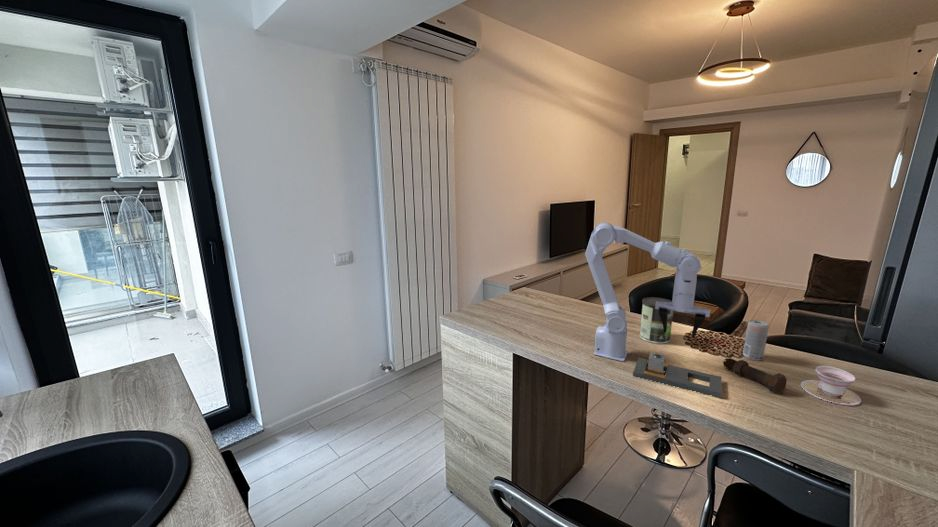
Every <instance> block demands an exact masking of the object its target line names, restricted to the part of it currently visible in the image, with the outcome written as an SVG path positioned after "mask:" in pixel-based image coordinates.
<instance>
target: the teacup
mask: <svg viewBox="0 0 938 527" xmlns="http://www.w3.org/2000/svg"><path fill="white" fill-rule="evenodd" d="M814 371H815V373H816V374H817V378H818V379H819V380H817V379H806V380H805V379H804V380H803V381H801V382H800V388H801V389H802V388H803V389H802V390H803V391H804V390H805V393H808V394H809V395H810V396H812V397H815V399H816V398H817V399H819V400H821V399H822V401H824V402H827V401H828V402H827V403H831V402H832V403H831V404H834V405H840V406H847V407H848V406H850V407H854V406H859V405H861V403H862V399H861V397H860V396H859V395H858V394H857V393H855V392H854V391H852V390H850V389H848V388H847V387H849V386H850V385H852V384H854V383H855V382H856V377H855V375H853V374H852V373H850V372H849V371H847V370H844V369H842V368H838V367H835V366H829V365H818V366H816V367H815V370H814ZM811 381H812V382H819V384H818V387H819V389H820V390H821V391H823V392H824V393H823V392H822V393H823V394H825V393H826V394H825V395H827V394H828V395H827V396H829V395H831V396H830V397H833V396H838V397H840V396H841V395H844V394H845V393H846V390H848V391H849V392H851V393H852V394H854V396H855V397H856V398H857V401H856V402H855V403H850V404H847V403H838V402H833V401H829V400H826V399H823V398H821V397H818V396H816V395H814V394H812V393H811V392H809V391H808V390H807V389H806V388H805V385H804V384H805V383H808V382H811Z"/></svg>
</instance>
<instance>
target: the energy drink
mask: <svg viewBox="0 0 938 527" xmlns="http://www.w3.org/2000/svg"><path fill="white" fill-rule="evenodd" d="M769 329H770V326H769V323H767V321H763V320H759V319H750V320H749V321H748V322H747V326H746V332H745V339H744V343H743V344H744V345H743V349H742V350H743V351H742V355H743V357H744V358H746V359H748V360H750V361H758V362H759V361H762V360H763V359H764V355H765V351H766V344H767V339H768V334H769Z"/></svg>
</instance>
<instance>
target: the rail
mask: <svg viewBox="0 0 938 527" xmlns="http://www.w3.org/2000/svg"><path fill="white" fill-rule="evenodd" d="M648 361H649V359H645V358H642V357H641V358H640V357H638V359H637V362H636V364H635V366H634V369H633V372H632V377H634V376H636V377H635V378H638V377H640V378H639V379H642V378H644V379H643V380H646V379H648V380H647V381H650V380H652V381H651V382H654V381H656V382H655V383H658V382H660V383H659V384H662V383H664V384H663V385H666V384H668V385H667V386H670V385H671V386H670V387H673V386H675V387H674V388H677V387H679V389H681V388H682V389H681V390H685V389H687V390H686V391H689V390H692V391H691V392H693V391H696V392H695V393H697V392H700V393H699V394H701V393H703V394H702V395H705V394H707V395H706V396H709V395H712V396H711V397H713V396H714V398H717V397H718V398H717V399H722V396H723V382H722V381H723V380H722V379H723V378H722V376H720V375H716V374H712V373H707V372H703V371H699V370H693V369H689V368H685V367H681V366H676V365H671V364H667V363H664V371H665V375H664V374H663V375H660V374H656V373H652V372H648V370H647V369H648V368H647V367H648ZM688 378H689V379H695V380H698V381H703V382H707V383H709V385H704V384H700V383H697V382H692V381H688Z"/></svg>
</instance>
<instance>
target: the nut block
mask: <svg viewBox="0 0 938 527" xmlns="http://www.w3.org/2000/svg"><path fill="white" fill-rule="evenodd" d="M648 360H649V361H648V368H647V371H648V372H652V373H656V374H660V375H664V364H666V363H665V362H666V355H665V354H662V353H657V352H653V351H651V352H650V353H649V356H648Z"/></svg>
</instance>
